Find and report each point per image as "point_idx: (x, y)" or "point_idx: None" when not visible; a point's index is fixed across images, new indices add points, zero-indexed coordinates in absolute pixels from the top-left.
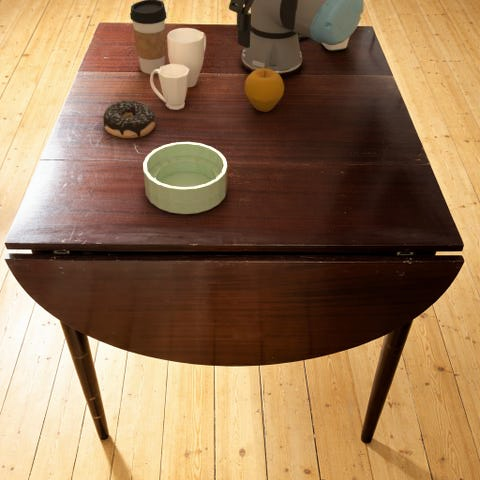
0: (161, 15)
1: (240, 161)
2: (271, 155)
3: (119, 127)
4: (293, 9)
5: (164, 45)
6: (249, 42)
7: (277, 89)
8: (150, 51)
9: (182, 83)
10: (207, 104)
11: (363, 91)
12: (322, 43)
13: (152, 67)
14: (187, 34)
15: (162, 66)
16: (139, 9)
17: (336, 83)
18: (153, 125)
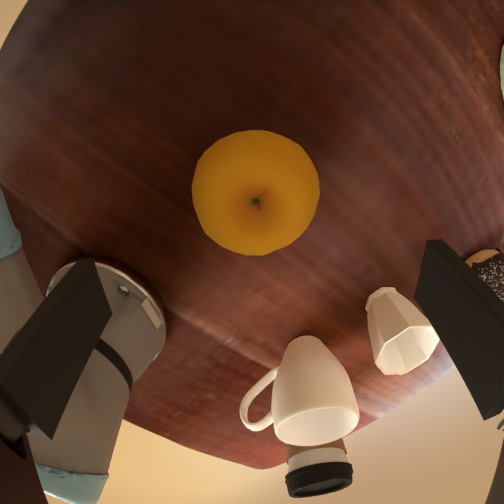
0: (316, 473)
1: (447, 61)
2: (388, 21)
3: None
4: (40, 330)
5: None
6: (442, 251)
7: (257, 133)
8: None
9: (411, 316)
10: (339, 270)
11: (14, 112)
12: None
13: None
14: (286, 431)
15: (404, 372)
16: (328, 485)
17: (34, 170)
18: (475, 258)
